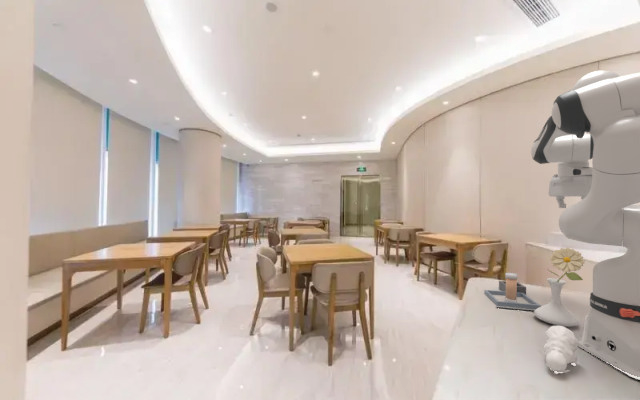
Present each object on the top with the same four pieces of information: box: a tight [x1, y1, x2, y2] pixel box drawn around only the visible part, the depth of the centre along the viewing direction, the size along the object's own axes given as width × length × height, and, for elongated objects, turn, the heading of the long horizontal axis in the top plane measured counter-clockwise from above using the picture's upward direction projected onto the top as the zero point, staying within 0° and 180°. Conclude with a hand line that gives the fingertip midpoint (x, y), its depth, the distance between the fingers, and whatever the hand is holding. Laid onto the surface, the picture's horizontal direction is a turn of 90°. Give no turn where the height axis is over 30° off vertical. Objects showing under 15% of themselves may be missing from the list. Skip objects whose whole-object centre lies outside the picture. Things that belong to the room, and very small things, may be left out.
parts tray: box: [484, 289, 542, 313], centre depth 108 cm, size 14×14×2 cm
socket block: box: [498, 280, 527, 295], centre depth 118 cm, size 7×7×4 cm
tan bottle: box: [504, 272, 518, 303], centre depth 108 cm, size 4×4×11 cm
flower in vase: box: [533, 247, 586, 328], centre depth 91 cm, size 13×11×25 cm
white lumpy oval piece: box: [542, 325, 579, 373], centre depth 67 cm, size 6×8×12 cm
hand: (572, 208), depth 107 cm, fingers open, 8 cm apart
